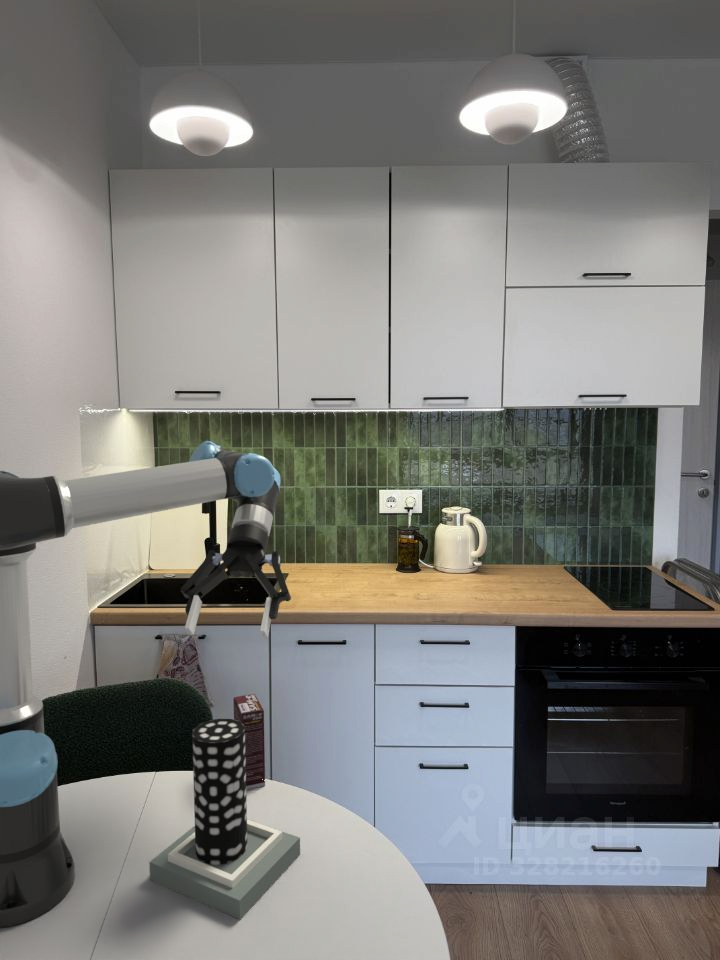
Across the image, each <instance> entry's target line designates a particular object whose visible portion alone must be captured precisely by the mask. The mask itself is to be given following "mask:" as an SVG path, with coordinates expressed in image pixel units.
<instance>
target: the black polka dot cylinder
mask: <svg viewBox="0 0 720 960" xmlns="http://www.w3.org/2000/svg"><path fill="white" fill-rule="evenodd" d="M191 733H192V735H191V736H192V737H191V738H192V770H193V771H192V773H193V800H194V801H193V802H194V806H193V807H194V808H193V810H194V826H195V848H196V856H197V857H198V859H199V860H201V861H202V862H204V863H207V864H213V865H219V864H226V863H229V862H232V861H234V860H236V859H238V858H239V857H240V856H242V855H243V854H244V852H245V851H246V849H247V819H248V816H247V815H248V811H247V810H248V807H247V806H248V805H247V790H246V754H245V726H244V724H243V723H241V722H240V721H237V720H234V718H233V719H232V718H216V719H211V720H207V721H205V722H201V723H200V724H198V725H197V726H195V727H194V729H192V732H191Z"/></svg>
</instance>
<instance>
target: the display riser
mask: <svg viewBox="0 0 720 960" xmlns="http://www.w3.org/2000/svg"><path fill="white" fill-rule="evenodd" d="M300 855H301V837H299V836H297V835H293V834H290V833H288V832H285V831H282V830H279V829H276V828H273V827H271V826H268V825H264V824H262V823H259V822H256V821H254V820H250V819H248V818H247V849H246V851H245V852H244V854H243V855H242V856H240V857H239V858H238V859H236V860H234V861H232V862H229V863H226V864H219V865H213V864H207V863H204V862H202V861H201V860H199V859H198V857H197V856H196V848H195V825H193V826H192V827H191V828H190V829H189V830H187V831H186V832H185V833H184V834H183V835H181V836H180V837H179V838H178V839H176V840H175V841H174V842H172V843H171V844H170V845H169V846H168V847H166V848H165V849H164V850H163V851H162V852H160V853H158V855H156V856H155V857H154V858H153V859H152V860H150V861H149V880H150V881H152V882H155V883H156V884H159V885H161V886H163V887H166V888H167V889H171V890H172V891H174V892H177V893H179V894H181V895H183V896H185V897H187V898H190V899H193V900H195V901H197V902H200V903H201V904H204V905H206V906H209V907H211V908H213V909H215V910H217V911H219V912H222V913H225V914H227V915H228V916H231V917H233V918H236V919H238V920H241V919H243V918H244V917H245V915H246V914H247V913H248V912H249V911H250V910H251V909H252V908H253V906H255V905H256V903H257V902H258V901H259V900H260V899H261V898H262V897H263V896H264V894H266V892H267V891H268V890H269V889H270V888H271V887H272V886H273V885H274V884H275V883H276V882H277V881H278V879H279V878H280V877H281V876H282V875H283V874H284V873H285V872H286V871H287V870H288V868H289V867H290V866H291V865H292V864H293V863H294V862H295V861H296V860H297V858H299V857H300Z"/></svg>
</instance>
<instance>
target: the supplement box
mask: <svg viewBox="0 0 720 960" xmlns="http://www.w3.org/2000/svg"><path fill="white" fill-rule="evenodd" d="M232 699H233V719H234V720H237V721H240V722H241V723H243V724H244V726H245V754H246V791H247V790H254V789H257V788H261V787H265V786H266V756H265V754H266V753H265V751H266V750H265V710H264V708H263V706H262V705H261V703H260V701H259V699H258V697H257V696H256V693H252V694H244V695H240V696H234V697H233V698H232ZM262 779H263V780H262ZM264 780H265V781H264Z"/></svg>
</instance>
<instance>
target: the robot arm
mask: <svg viewBox="0 0 720 960" xmlns="http://www.w3.org/2000/svg"><path fill="white" fill-rule="evenodd" d="M281 481H282V480H281V474H280V472H279V471H278V470H277V469H276V468H275V467H274V466H273V464H272V462H271V461H270V460H269V459H268V458H266V456H265V457H264V456H263V455H260V454H258V453H254V452H250V453H248V452H247V453H243V452H238V451H228V450H226V449H224V448H222V447H221V445H217V444H216V443H214V442H212V441H210V440H206V441H203V442H202V443H201V444H199V445H198V446H197V447H196V448H195V450H194V451H193V452H192V454H191V455H190V458H189V460H188V461H186V462H180V463H179V462H178V463H174V464H173V463H172V464H166V465H161V466H159V465H158V466H154V467H146V468H141V469H140V468H139V469H133V470H126V471H120V472H113V473H106V474H100V475H95V476H94V475H93V476H87V477H81V478H75V479H74V478H73V479H67V480H62V479H61V478H59V477H57V476H56V475H50V476H44V477H19V476H18V475H16V474H13V473H11V472H10V471H5V470H0V928H6V927H7V928H8V927H11V926H12V927H13V926H16V925H21V924H22V923H25V922H28V921H31V920H34V919H36V918H37V917H39V916H41V915H43V914H45V913H47V912H49V911H50V910H51V909H53V908H55V906H57V905H58V904H59V903H60V902H61V901H62V900H63V899H64V898H66V896H67V895H68V893H69V892H70V890H71V889H72V887H73V885H74V882H75V877H76V873H75V861H74V858H73V856H72V854H71V852H70V851H71V850H70V849H69V847H68V845H67V843H66V840H65V839H64V837H63V835H62V832H61V827H60V826H61V825H60V806H59V791H58V790H59V789H58V773H57V770H58V762H59V761H58V754H57V752H56V748H55V744H54V742H53V740H52V739H51V738H50V736H48V735H47V734H45V723H44V722H45V721H44V720H45V719H44V704H43V700H41V699H40V698H39V697H38V696H36V695H34V693H33V675H32V674H33V673H32V657H31V656H32V653H31V651H32V650H31V631H30V630H31V628H30V611H29V610H30V609H29V606H30V605H29V587H28V586H29V585H28V563H27V562H28V559H29V558H30V557H31V556H32V554H34V553H35V552H36V550H37V543H41V542H44V541H45V542H47V541H48V540H50V541H51V540H54V539H58V538H64V537H67V535H68V534H69V533H70V532H71V531H72V530H73V529H75V528H76V529H77V528H81V527H82V528H83V527H87V526H91V525H92V526H93V525H96V524H102V523H107V522H112V521H117V520H122V519H123V520H124V519H127V518H132V517H138V516H144V515H149V514H153V513H159V512H162V511H163V512H164V511H168V510H174V509H178V508H184V507H189V506H193V505H195V506H196V505H200V504H205V503H210V502H215V501H220V500H227V499H230V500H232V501H234V502H236V503H237V505H236V510H235V513H234V517H233V521H232V524H231V530H230V532H229V536H228V540H227V543H226V548H225V550H224V552H223V553H218V552H215V550H214V549H210V550H209V551H208V553H207V555H206V557H205V560H203V561H202V563H201V564H200V565H199V566H198V567H197V569H196V570H195V571H194V572H193V573H192V575H191V576H190V577H189V578H188V579H187V580H186V582H185V583H184V584H183V585H182V586H181V588H180V592H181V593H182V595H183V596H184V598H185V599H187V603H186V606H185V614H186V615H187V619H186V622H185V625H184V629H185V630H186V633H187V634H188V635H189V636H194V634H195V631H196V628H197V623H198V619H199V616H200V612H201V609H202V605H203V601H202V600H201V599H202V598H203V597H205V595H207V594H208V593H209V592H211V591H212V590H213V589H215V588H216V587H217V586H219V584H220V583H222V582H223V581H224V580H228V579H229V578H230V577H234V578H240V577H244V578H250V577H251V576H253V575H254V577H255V578H256V579H257V581H258V582H259V583H260V584H261V587H263V589H264V591H266V593H267V595H268V596H269V597H266V599H265V606H264V611H263V615H262V620H261V625H260V629H259V632H260V633H261V636H262V639H268V638H269V632H270V627H271V623H272V620H276V619H277V618H278V616H279V615H278V613H279V608H280V604H281V603H282V602H285V601H286V602H290V601H291V600H292V596H291V594H290V591H289V588H288V586H287V583H286V580H285V578H284V575H283V572H282V569H281V563H282V562H281V557H280V554H279V551H276V550H274V551H273V552H272V553H270V554H266V553H267V549H268V544H269V537H270V535H271V534H270V533H271V530H272V524H273V521H274V515H275V512H276V511H275V510H276V507H277V502H278V497H279V496H280V488H281ZM220 562H221V563H220ZM266 563H268V565H269V566H270V567H272V569H273V572H274V574H275V578H276V580H277V582H278V586H279V589H280V591H279V592H278V590H276V588H275V587H274V586H273V584H272V583H271V582H270V579H269V578H268V577H267V575H266V574H265V573H264V572H263V570H262V569H261V568H262V567H263V566H264V565H265V564H266ZM216 566H217V568H216V569H215V567H216ZM214 569H215V570H214ZM226 569H227V570H226ZM212 571H213V572H212Z"/></svg>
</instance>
